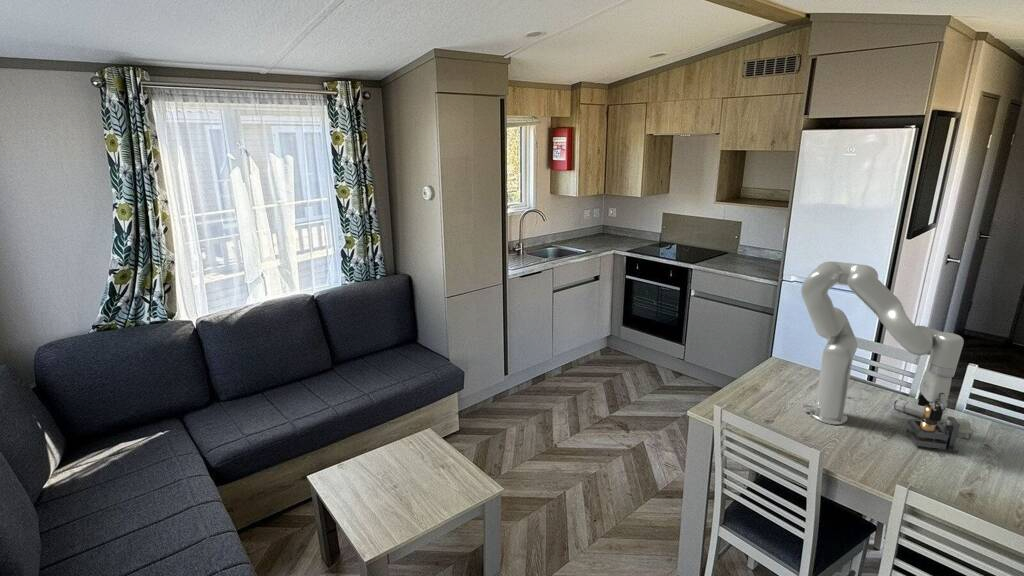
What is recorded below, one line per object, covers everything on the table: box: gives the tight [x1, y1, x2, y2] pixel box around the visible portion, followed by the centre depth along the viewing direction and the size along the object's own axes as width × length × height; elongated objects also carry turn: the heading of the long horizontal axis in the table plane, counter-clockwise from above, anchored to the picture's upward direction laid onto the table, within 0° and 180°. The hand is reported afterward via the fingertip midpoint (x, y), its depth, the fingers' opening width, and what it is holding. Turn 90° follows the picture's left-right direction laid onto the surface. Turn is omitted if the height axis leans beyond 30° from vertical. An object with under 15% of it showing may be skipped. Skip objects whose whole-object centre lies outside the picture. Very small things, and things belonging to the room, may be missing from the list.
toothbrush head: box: [893, 399, 975, 439], centre depth 201 cm, size 5×7×25 cm
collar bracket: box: [905, 416, 960, 454], centre depth 188 cm, size 9×13×10 cm
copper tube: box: [918, 403, 938, 441], centre depth 188 cm, size 4×4×14 cm
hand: (928, 412), depth 187 cm, fingers open, 9 cm apart
